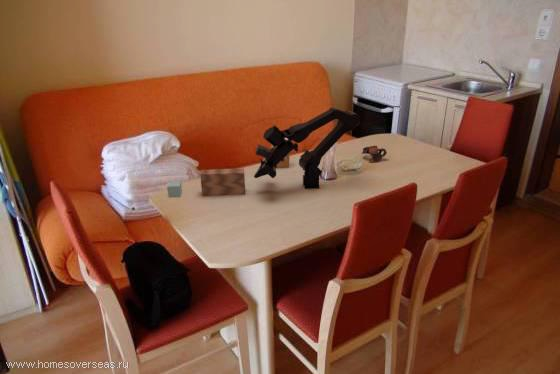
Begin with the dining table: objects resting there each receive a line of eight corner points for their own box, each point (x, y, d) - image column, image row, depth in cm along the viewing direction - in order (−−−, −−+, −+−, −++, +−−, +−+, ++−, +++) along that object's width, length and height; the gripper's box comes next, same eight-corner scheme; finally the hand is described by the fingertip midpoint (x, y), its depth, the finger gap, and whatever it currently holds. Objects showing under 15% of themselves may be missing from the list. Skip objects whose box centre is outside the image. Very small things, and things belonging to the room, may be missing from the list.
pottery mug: (363, 164, 214) (360, 147, 215) (364, 165, 223) (361, 150, 224) (388, 159, 211) (384, 142, 212) (388, 161, 220) (385, 145, 221)
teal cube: (182, 192, 186) (181, 181, 184) (180, 197, 182) (179, 186, 180) (170, 192, 186) (169, 181, 184) (168, 197, 181) (167, 186, 179)
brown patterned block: (245, 189, 188) (244, 168, 184) (245, 194, 183) (244, 172, 179) (203, 191, 187) (201, 169, 182) (202, 196, 182) (200, 174, 178)
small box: (273, 168, 209) (272, 142, 203) (271, 163, 215) (271, 138, 209) (289, 167, 210) (289, 141, 204) (287, 162, 215) (287, 137, 210)
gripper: (265, 132, 185) (241, 157, 189) (267, 146, 168) (240, 173, 172) (284, 148, 188) (259, 173, 192) (287, 164, 171) (260, 191, 175)
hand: (254, 177), depth 183 cm, fingers closed
